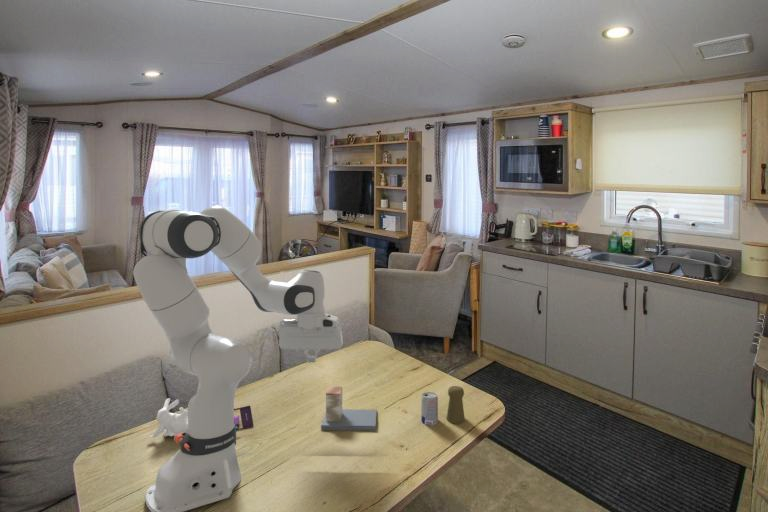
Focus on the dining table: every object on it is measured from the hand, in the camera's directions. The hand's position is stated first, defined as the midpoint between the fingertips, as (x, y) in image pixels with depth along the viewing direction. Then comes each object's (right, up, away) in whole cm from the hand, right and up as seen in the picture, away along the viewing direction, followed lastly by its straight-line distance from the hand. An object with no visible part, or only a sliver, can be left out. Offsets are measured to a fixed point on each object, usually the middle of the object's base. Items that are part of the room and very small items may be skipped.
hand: (311, 362), depth 137 cm
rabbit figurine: (-42, -20, -6) cm, 47 cm away
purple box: (-19, -18, 0) cm, 26 cm away
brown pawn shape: (+47, -20, +3) cm, 51 cm away
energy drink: (+38, -23, +2) cm, 45 cm away
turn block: (+7, -18, +1) cm, 20 cm away
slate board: (+12, -20, +1) cm, 23 cm away
